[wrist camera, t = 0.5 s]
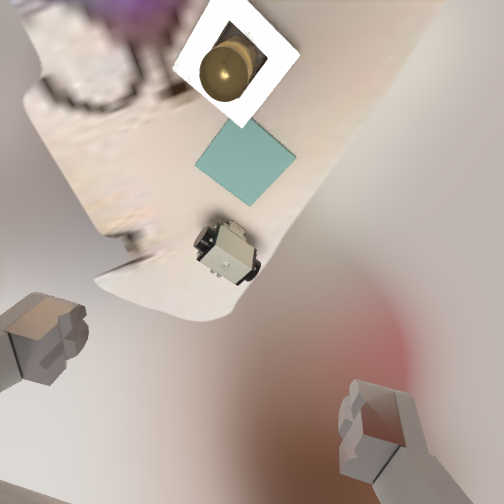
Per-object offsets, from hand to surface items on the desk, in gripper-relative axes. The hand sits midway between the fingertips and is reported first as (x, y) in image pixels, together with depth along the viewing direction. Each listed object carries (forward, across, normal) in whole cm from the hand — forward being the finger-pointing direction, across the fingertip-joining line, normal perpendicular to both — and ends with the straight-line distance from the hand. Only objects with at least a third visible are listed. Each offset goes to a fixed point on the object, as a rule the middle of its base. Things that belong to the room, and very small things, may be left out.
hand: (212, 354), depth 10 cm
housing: (+45, +11, -8) cm, 47 cm away
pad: (+47, +8, +7) cm, 48 cm away
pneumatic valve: (+49, +9, +22) cm, 54 cm away
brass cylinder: (+45, +11, -8) cm, 47 cm away
